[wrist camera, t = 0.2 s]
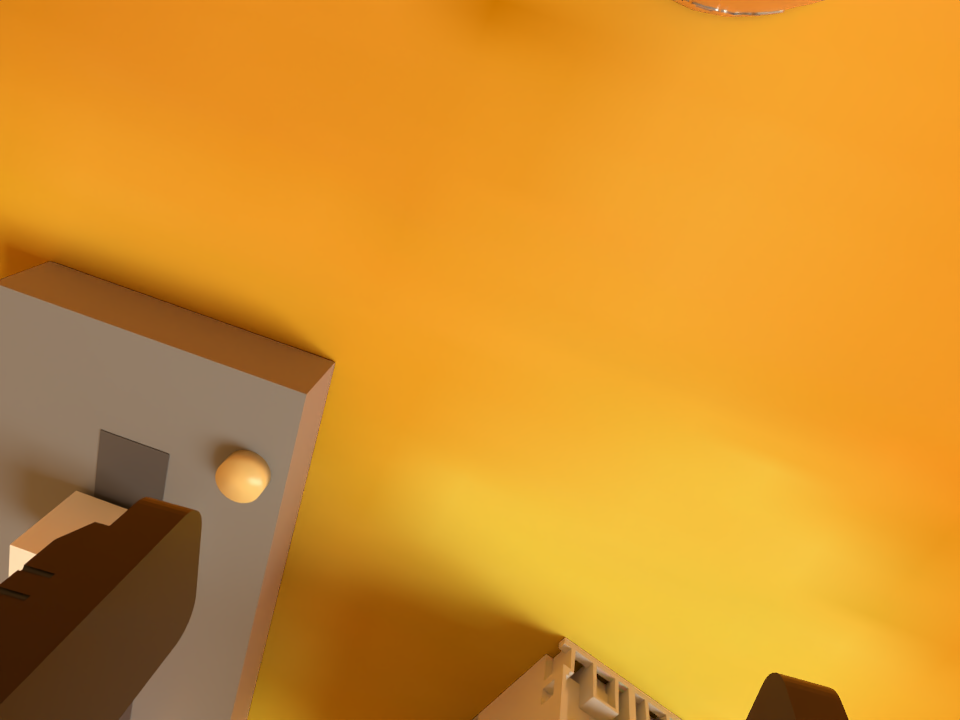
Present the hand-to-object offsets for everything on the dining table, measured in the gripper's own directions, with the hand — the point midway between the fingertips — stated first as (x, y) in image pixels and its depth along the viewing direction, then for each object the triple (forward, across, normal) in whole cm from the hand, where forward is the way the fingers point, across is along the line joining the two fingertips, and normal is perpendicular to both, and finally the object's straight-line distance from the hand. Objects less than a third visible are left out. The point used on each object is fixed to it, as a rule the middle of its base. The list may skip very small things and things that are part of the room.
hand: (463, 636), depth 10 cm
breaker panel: (+18, +15, +17) cm, 29 cm away
